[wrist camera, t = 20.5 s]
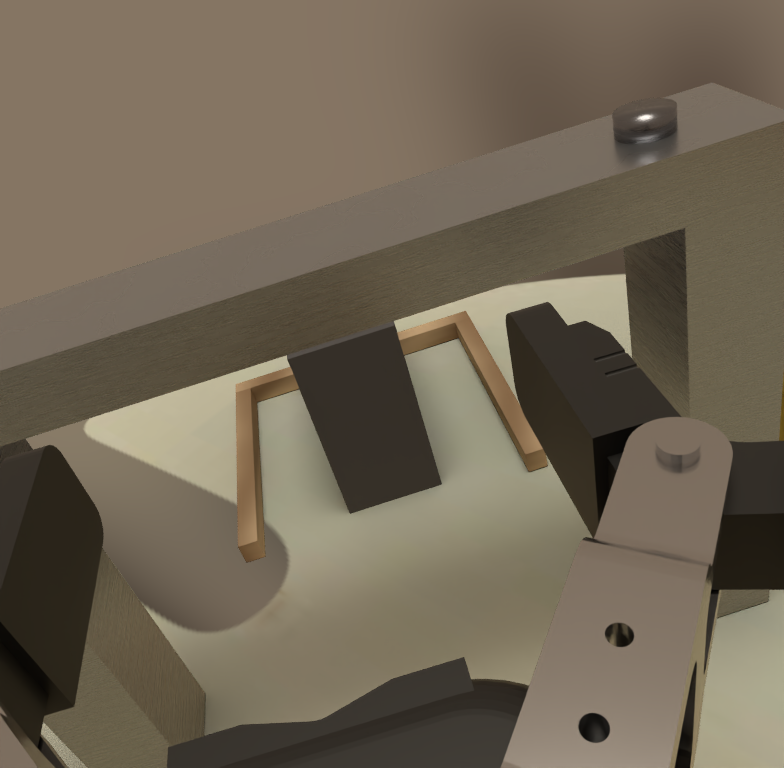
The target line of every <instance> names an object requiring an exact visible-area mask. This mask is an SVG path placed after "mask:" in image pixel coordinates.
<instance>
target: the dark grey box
mask: <svg viewBox="0 0 784 768" xmlns="http://www.w3.org/2000/svg"><path fill="white" fill-rule="evenodd" d="M287 360H288V362H289V364H290V367H291V369H292V372H293V374H294V377H295V379H296V382H297V384H298V387H299V389H300V392H301V394H302V397H303V399H304V401H305V404H306V406H307V409H308V411H309V414H310V416H311V419H312V421H313V424H314V426H315V429H316V431H317V433H318V436H319V438H320V441H321V443H322V446H323V448H324V451H325V453H326V456H327V458H328V461H329V463H330V466H331V468H332V470H333V473H334V475H335V478H336V480H337V483H338V485H339V488H340V490H341V493H342V495H343V498H344V500H345V502H346V505H347V507H348V510H349V512H350V513H354V512H357V511H360V510H363V509H366V508H369V507H372V506H376V505H379V504H382V503H385V502H388V501H391V500H394V499H397V498H401V497H404V496H407V495H410V494H413V493H416V492H419V491H422V490H426V489H429V488H432V487H435V486H438V485H441V484H442V483H441V480H440V477H439V473H438V470H437V466H436V463H435V460H434V456H433V453H432V449H431V446H430V443H429V439H428V436H427V432H426V429H425V426H424V422H423V419H422V415H421V412H420V409H419V405H418V402H417V398H416V395H415V392H414V388H413V385H412V381H411V378H410V375H409V371H408V368H407V364H406V361H405V358H404V354H403V351H402V347H401V344H400V341H399V337H398V334H397V330H396V327H395V324H394V321H392V322H389V323H386V324H383V325H380V326H376V327H373V328H370V329H367V330H364V331H361V332H358V333H354V334H351V335H348V336H345V337H342V338H339V339H336V340H333V341H329V342H326V343H323V344H320V345H317V346H314V347H311V348H308V349H304V350H301V351H298V352H295V353H292V354H289V355H287Z"/></svg>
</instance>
